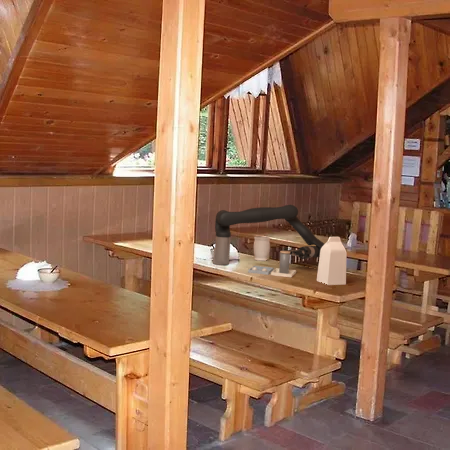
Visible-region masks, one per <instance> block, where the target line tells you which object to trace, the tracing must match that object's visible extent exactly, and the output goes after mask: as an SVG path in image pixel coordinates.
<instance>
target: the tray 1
mask: <svg viewBox="0 0 450 450" xmlns="http://www.w3.org/2000/svg"><path fill="white" fill-rule="evenodd" d="M253 267H256V268H257V270H252V268H253ZM263 268H266V269H267V272H266V271H262V269H263ZM273 270H275V268H274V267H271V266H270V267H269V266H260V265H253V266H252V267H250V268H248V273H250V274H259V275H267V276H268V275H271V272H272V271H273Z"/></svg>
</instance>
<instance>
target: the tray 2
mask: <svg viewBox="0 0 450 450" xmlns="http://www.w3.org/2000/svg"><path fill="white" fill-rule="evenodd" d="M296 274H297V270H296V269H291V268H289V274H284V273H279V267H278V268H277V267H276V268H274V270H273V271H272V272H271V273H270V276H276V277H285V278H286V277H287V278H292V277H293V276H294V275H296Z"/></svg>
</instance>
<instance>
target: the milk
mask: <svg viewBox="0 0 450 450" xmlns="http://www.w3.org/2000/svg"><path fill="white" fill-rule="evenodd" d="M347 255H348V254H347V250H346V248H345V246H344V245H343V242H342V240H341V237H340V236H329V238H328V240H327V241H326V242H325V243H324V245H323V246H322V248H321V250H320V256H319V257H318V260H319V261H318V267H317V275H316V281H317V282H319V283H321V282H322V283H321V284H324V283H325V284H324V285H326V284H327V285H326V286H334V285H335V286H336V285H337V286H339V285H347Z"/></svg>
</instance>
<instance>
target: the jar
mask: <svg viewBox="0 0 450 450" xmlns="http://www.w3.org/2000/svg"><path fill="white" fill-rule="evenodd" d="M253 238H254V242H253V255H254V259H253V260H255V261H258V262H267V261H268V256H269V254H270V250H271V249H270V248H271V242H270V240H271V237H270V236H269V237H268V236H262V235H261V236H260V235H257V236H253ZM266 260H267V261H266Z"/></svg>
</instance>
